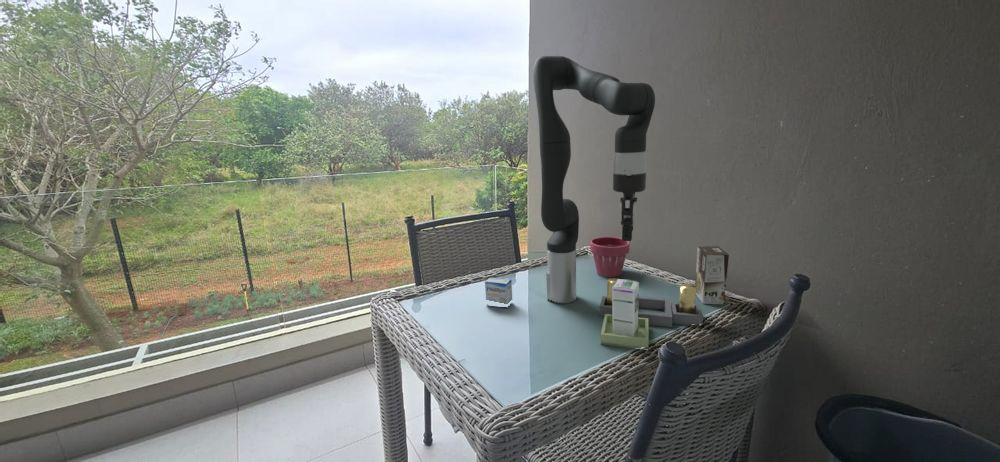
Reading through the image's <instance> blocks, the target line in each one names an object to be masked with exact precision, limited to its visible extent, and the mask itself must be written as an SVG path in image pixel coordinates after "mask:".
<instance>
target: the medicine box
mask: <svg viewBox="0 0 1000 462" xmlns="http://www.w3.org/2000/svg"><path fill="white" fill-rule="evenodd" d="M484 288H485V289H484V290H485V301H486V300H489V301H494V302H499V303H504V304H508V303H509V302H510V301H511V300H513V283H512V279H509V278H498V277H489V278H488V279H486V280H485V281H484Z"/></svg>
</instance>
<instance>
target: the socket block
mask: <svg viewBox="0 0 1000 462" xmlns="http://www.w3.org/2000/svg"><path fill="white" fill-rule="evenodd" d="M639 308H644V309H653V310H663V311H664V313H659V312H657V313H656V312H648V311H639V313H638V317H640V318H648V326H649V325H650V326H651V325H652V326H658V327H659V326H660V327H668V328H673V324H676V325H684V326H691V325H690V324H697V323H702V324H703V320H704V317H703V316H704V315H703V312H702V309H701V305H700V304H696V303H695V308H694V314H687V313H679V302H674V301H672V302H671V299H670V298H663V297H649V296H640V295H639ZM605 314H611V315H612V306H607V295H606V296H605V295H603V296H601V301H600V305H599V316H601V317H602V316H603V317H604V316H605Z"/></svg>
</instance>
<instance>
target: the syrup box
mask: <svg viewBox="0 0 1000 462" xmlns="http://www.w3.org/2000/svg"><path fill="white" fill-rule="evenodd" d="M616 279H617V281H616V282H615V284H614V285H613V287H612V334H616V335H624V336H632V337H636V334H637V332H638V313H639V312H640V311H639V308H640V307H639V296H640V292H639V291H640V289H639V287H640V282H639V281H637V280H632V279H625V278H623V279H620V278H616Z"/></svg>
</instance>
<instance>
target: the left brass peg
mask: <svg viewBox="0 0 1000 462" xmlns="http://www.w3.org/2000/svg"><path fill="white" fill-rule="evenodd" d="M617 279H618V278H616V277H611V278H608V279H607V280H606V296H607V306H612V287H613V285H614V284H615V282H616V281H617Z"/></svg>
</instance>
